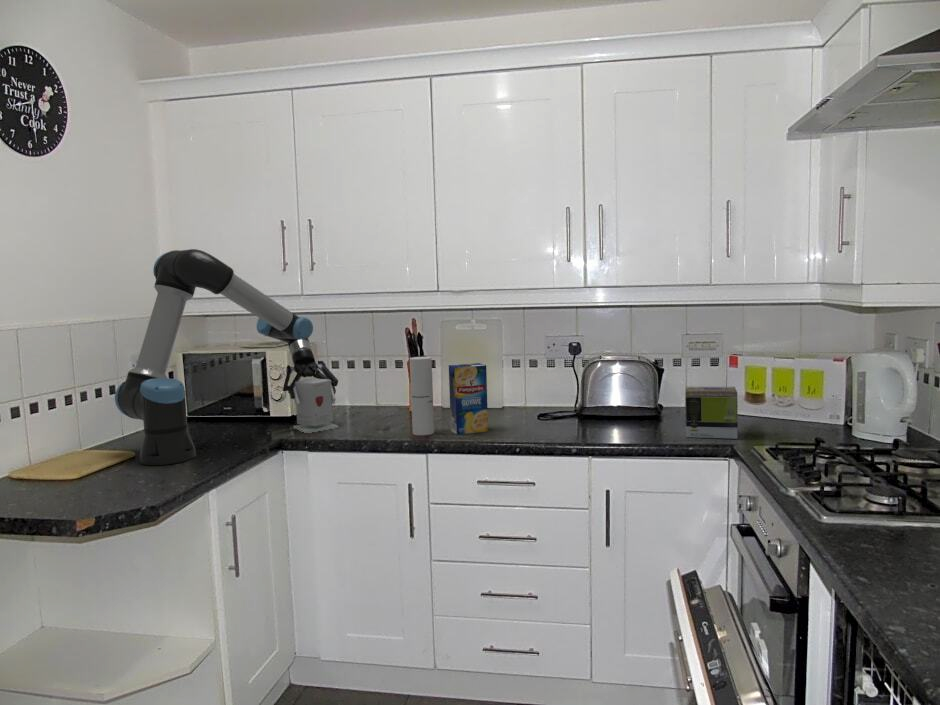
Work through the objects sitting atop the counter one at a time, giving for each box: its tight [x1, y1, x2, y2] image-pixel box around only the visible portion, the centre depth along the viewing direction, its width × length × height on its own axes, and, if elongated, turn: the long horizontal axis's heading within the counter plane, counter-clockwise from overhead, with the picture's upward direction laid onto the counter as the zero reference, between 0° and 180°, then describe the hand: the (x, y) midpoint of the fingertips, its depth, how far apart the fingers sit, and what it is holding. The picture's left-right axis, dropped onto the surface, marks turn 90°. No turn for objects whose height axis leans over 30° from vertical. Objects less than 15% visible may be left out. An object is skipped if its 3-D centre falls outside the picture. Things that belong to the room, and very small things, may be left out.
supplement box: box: [294, 377, 334, 426], centre depth 236 cm, size 9×9×15 cm
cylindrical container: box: [409, 356, 435, 436], centre depth 224 cm, size 7×7×25 cm
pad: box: [292, 422, 339, 434], centre depth 237 cm, size 12×11×1 cm
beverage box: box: [448, 362, 489, 436], centre depth 225 cm, size 7×11×22 cm, turn 109°
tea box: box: [684, 386, 739, 440], centre depth 210 cm, size 15×10×15 cm, turn 72°
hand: (316, 403), depth 234 cm, fingers open, 12 cm apart
